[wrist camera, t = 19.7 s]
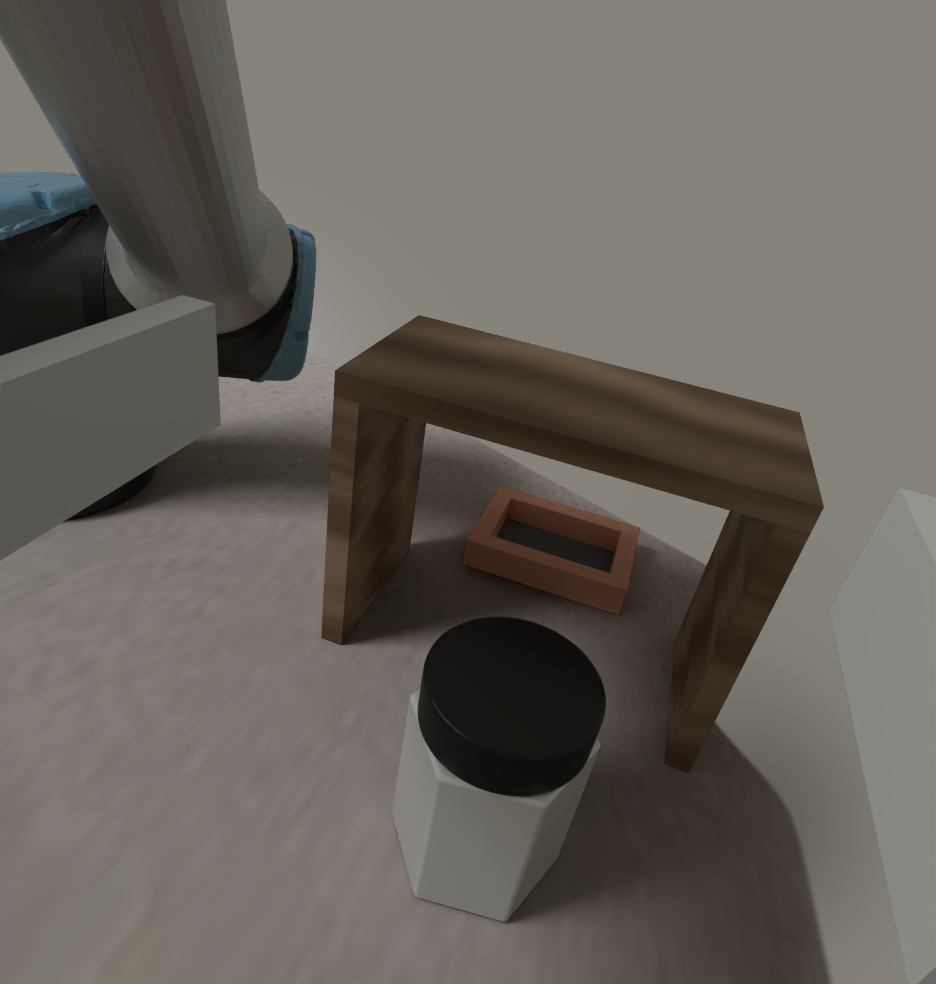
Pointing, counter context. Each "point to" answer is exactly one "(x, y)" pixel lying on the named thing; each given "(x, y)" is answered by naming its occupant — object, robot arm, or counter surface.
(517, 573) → the tray
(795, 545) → the archway
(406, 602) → the counter surface
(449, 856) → the jar
